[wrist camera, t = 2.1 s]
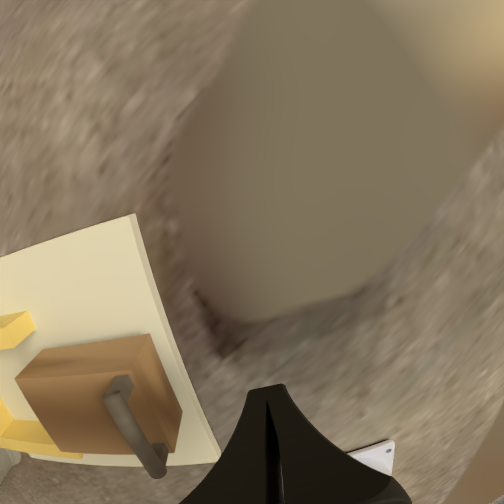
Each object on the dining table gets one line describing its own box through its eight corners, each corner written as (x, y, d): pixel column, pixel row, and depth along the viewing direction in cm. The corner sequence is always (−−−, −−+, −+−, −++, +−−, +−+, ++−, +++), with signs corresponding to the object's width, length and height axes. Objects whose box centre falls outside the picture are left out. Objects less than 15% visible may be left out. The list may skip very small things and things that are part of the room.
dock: (220, 451, 18) (219, 488, 15) (35, 450, 19) (20, 475, 15) (135, 213, 15) (108, 222, 11) (-53, 278, 15) (-82, 293, 12)
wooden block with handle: (184, 403, 16) (169, 481, 11) (83, 411, 16) (49, 473, 11) (153, 326, 15) (117, 396, 10) (48, 343, 15) (-4, 398, 10)
